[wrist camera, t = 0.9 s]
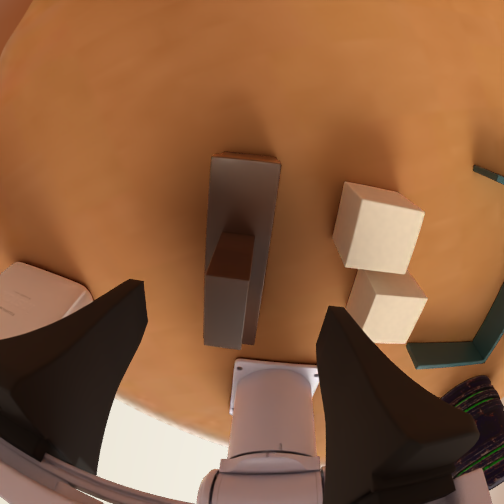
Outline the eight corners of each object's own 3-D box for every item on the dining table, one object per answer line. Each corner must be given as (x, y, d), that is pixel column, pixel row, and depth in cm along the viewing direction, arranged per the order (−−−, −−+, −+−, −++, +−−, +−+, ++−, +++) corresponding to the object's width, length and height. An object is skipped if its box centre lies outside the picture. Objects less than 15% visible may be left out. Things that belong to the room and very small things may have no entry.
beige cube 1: (389, 310, 22) (405, 343, 18) (345, 307, 22) (356, 342, 18) (406, 268, 20) (428, 298, 16) (359, 262, 20) (376, 294, 16)
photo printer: (94, 283, 22) (13, 390, 11) (97, 320, 24) (34, 423, 13) (14, 254, 22) (-66, 327, 11) (21, 288, 24) (-47, 364, 13)
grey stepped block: (256, 314, 22) (249, 398, 15) (211, 308, 23) (189, 389, 15) (279, 154, 17) (286, 184, 10) (221, 148, 17) (186, 173, 10)
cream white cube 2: (384, 246, 19) (405, 275, 16) (331, 238, 19) (344, 267, 16) (398, 192, 18) (426, 211, 14) (343, 180, 18) (362, 198, 14)
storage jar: (493, 389, 28) (526, 465, 15) (440, 425, 31) (463, 504, 18) (485, 364, 25) (530, 457, 12) (421, 408, 29) (450, 505, 15)
